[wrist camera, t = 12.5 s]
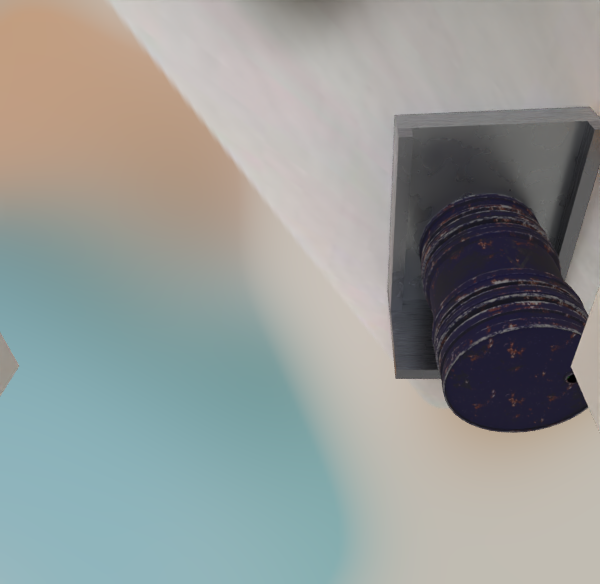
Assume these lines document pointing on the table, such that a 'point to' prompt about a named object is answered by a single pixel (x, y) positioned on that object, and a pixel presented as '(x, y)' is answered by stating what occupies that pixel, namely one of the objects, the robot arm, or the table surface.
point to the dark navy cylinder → (501, 316)
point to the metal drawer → (479, 180)
